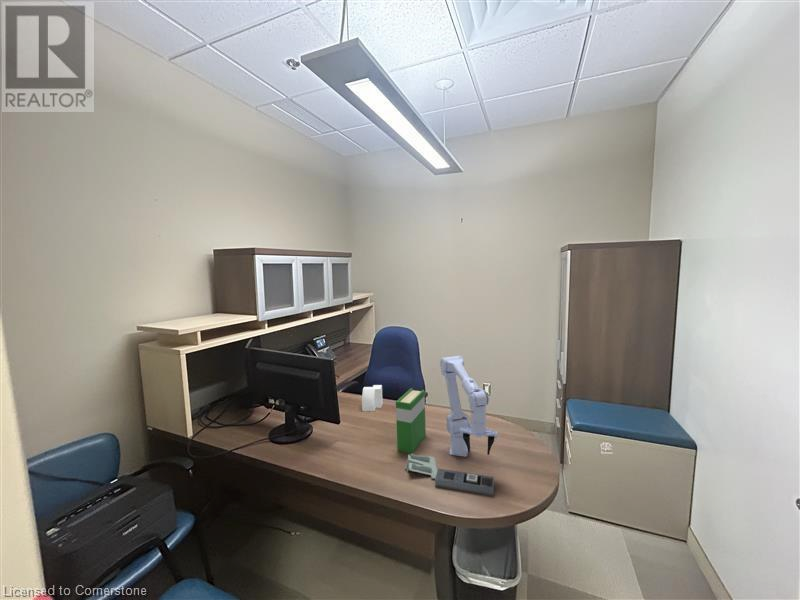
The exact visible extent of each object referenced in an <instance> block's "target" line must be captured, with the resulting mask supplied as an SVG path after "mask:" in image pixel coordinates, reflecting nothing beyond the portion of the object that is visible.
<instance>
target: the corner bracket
mask: <svg viewBox="0 0 800 600" xmlns="http://www.w3.org/2000/svg"><path fill="white" fill-rule="evenodd" d="M383 401H384V399H383V385H382V384H373V385H372V386H364V387H363V388H362V394H361V411H362V412H375V411H376V409H382V406H383Z"/></svg>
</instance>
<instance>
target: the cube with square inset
mask: <svg viewBox="0 0 800 600" xmlns="http://www.w3.org/2000/svg"><path fill="white" fill-rule="evenodd" d="M466 473H467V479H466V481H465V483H469V484H475V485H479V483H478V475H479V474H477V475H475V474H476V473H471V474H468V472H466Z"/></svg>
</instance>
